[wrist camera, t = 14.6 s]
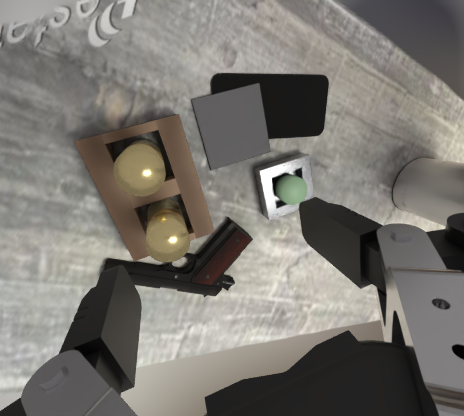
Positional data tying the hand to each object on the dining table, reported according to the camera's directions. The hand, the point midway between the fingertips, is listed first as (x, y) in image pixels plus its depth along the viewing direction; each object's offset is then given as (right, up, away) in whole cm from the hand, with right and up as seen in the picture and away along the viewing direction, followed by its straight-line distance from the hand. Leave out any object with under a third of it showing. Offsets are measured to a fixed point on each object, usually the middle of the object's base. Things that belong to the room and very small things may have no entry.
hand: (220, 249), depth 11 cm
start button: (+8, +4, +21) cm, 23 cm away
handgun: (-6, -4, +22) cm, 23 cm away
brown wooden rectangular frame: (-9, +4, +18) cm, 20 cm away
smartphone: (+5, +14, +19) cm, 24 cm away
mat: (+1, +11, +18) cm, 21 cm away
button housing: (+7, +5, +23) cm, 24 cm away
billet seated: (-8, +1, +19) cm, 21 cm away
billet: (-9, +7, +16) cm, 20 cm away
